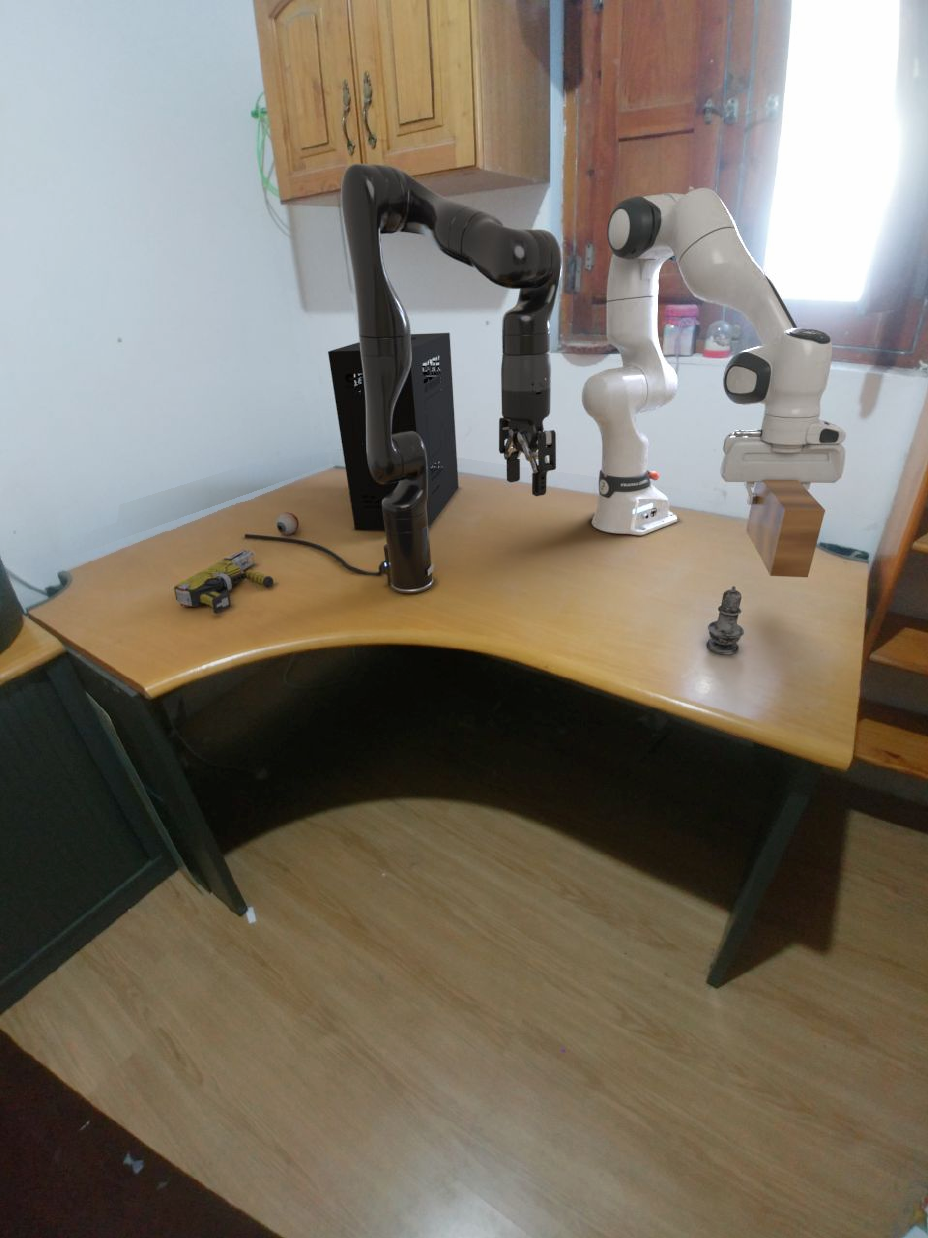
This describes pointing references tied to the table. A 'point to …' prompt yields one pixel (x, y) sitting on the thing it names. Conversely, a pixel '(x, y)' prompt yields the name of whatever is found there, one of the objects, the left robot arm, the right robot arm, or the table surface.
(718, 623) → the dark grey chess piece
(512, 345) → the left robot arm
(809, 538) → the box
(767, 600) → the table surface
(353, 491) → the cardboard box
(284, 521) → the eyeball
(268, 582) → the toy gun
